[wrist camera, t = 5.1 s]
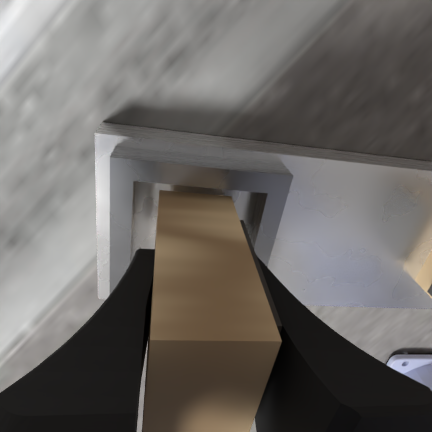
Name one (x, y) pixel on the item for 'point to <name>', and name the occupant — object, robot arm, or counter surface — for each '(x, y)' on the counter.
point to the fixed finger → (426, 276)
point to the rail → (275, 210)
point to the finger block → (206, 320)
